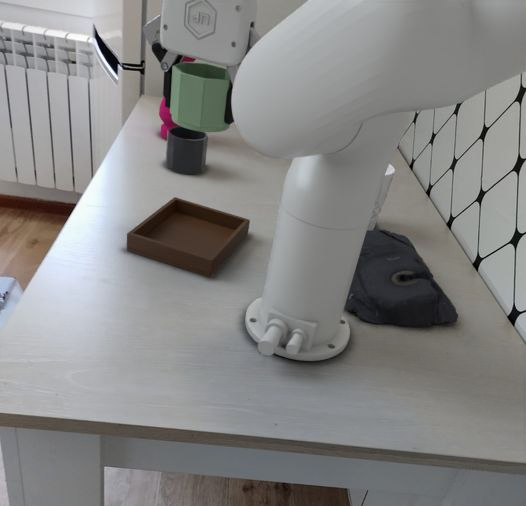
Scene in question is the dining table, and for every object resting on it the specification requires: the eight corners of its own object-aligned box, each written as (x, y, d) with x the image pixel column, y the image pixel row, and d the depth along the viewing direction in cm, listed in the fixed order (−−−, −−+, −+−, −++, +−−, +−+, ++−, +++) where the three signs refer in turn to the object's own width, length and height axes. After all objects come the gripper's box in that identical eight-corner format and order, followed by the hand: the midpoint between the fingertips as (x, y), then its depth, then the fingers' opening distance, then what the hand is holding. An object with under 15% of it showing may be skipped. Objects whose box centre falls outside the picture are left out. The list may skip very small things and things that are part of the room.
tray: (210, 277, 76) (212, 260, 75) (126, 250, 79) (126, 233, 77) (247, 235, 88) (250, 219, 86) (173, 212, 90) (174, 196, 88)
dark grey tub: (194, 177, 101) (197, 143, 98) (159, 167, 102) (160, 133, 99) (210, 166, 107) (213, 133, 103) (176, 156, 108) (178, 123, 104)
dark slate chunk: (415, 249, 93) (425, 222, 90) (461, 332, 76) (475, 302, 73) (321, 238, 91) (328, 210, 88) (346, 321, 73) (356, 290, 70)
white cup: (376, 239, 93) (394, 179, 87) (328, 227, 94) (342, 167, 88) (378, 219, 100) (395, 162, 94) (333, 208, 100) (347, 151, 94)
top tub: (216, 136, 70) (222, 83, 66) (161, 121, 71) (164, 68, 67) (237, 122, 75) (244, 72, 72) (186, 108, 77) (190, 58, 73)
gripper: (125, -77, 60) (123, 102, 71) (284, -42, 57) (257, 139, 68) (159, -75, 66) (152, 90, 77) (305, -43, 63) (276, 123, 74)
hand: (201, 112), depth 72 cm, fingers closed on top tub, 7 cm apart
